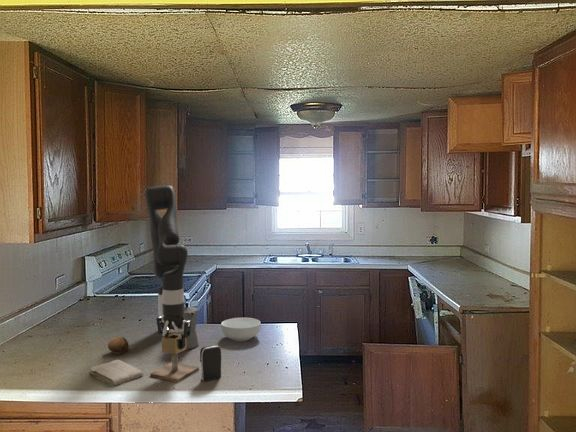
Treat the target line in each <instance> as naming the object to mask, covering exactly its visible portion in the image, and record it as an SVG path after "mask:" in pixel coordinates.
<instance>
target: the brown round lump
mask: <svg viewBox="0 0 576 432" xmlns="http://www.w3.org/2000/svg"><path fill="white" fill-rule="evenodd" d="M107 347H108V350H109V351H110V352H111V353H113V354H115V355H122V354H124V353H127V351H128V349H129V341H128V339H126V338H125V337H123V336H116V337H112V339H110V340H109V341H108V344H107Z"/></svg>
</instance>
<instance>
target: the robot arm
mask: <svg viewBox="0 0 576 432" xmlns="http://www.w3.org/2000/svg"><path fill="white" fill-rule="evenodd" d="M145 201H146V207H147V212H148V217H149V227H150V228H149V229H150V239H151V244H152V251H153V252H152V254H153V272H154V276H155V277H156V278H157V279H161V280H162V285H160V286H158V289H157V299H158V300H157V301H158V302H157V305H158V307H157V308H158V317H156V319H155V320H156V325H157V332H158V334H159V335H161V336H162V338H163V337H165V336H167V335H170V334H172V333H175V334H178V337H179V349H181V350H182V349H184V347H185V338H187V337H189V336H190V331H191V320H189V321H186V320H184V317H183V315H184V306H185V292H184V273H185V272H184V271H185V266H186V262H187V259H188V249H187V247H186V246H185V245H184V244H179V243H180V235H179V230H178V223H177V222H178V221H177V202H176V201H177V199H176V193H175V189H174V187H173V186H172V185H169V184H168V185H167V184H166V185H156V186H149V187H148V188H146V191H145ZM160 210H166V212H165V213H164V215H163V216H162V215H161V214H160V212H159V211H160ZM183 324H184V325H183ZM183 326H184V327H183ZM179 329H180V330H179ZM181 334H182V335H181Z"/></svg>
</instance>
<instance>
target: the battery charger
mask: <svg viewBox="0 0 576 432" xmlns="http://www.w3.org/2000/svg"><path fill="white" fill-rule="evenodd" d="M221 349H222V348H221V347H220V346H218V345H216V344H211V345H206V346H205V345H204V346H203V347H201V349H200V351H199V362H200V363H201V380H202V381H203V382H207V381H212V380H216V379H221V378H222V350H221Z"/></svg>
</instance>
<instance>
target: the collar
mask: <svg viewBox="0 0 576 432" xmlns="http://www.w3.org/2000/svg"><path fill="white" fill-rule="evenodd" d="M185 350H187V349H186V338H185V347H184V349H182V350H181V349H179V337H178V334H176V332H174V333H169V335H167V336H165V337H163V336H162V337H161V352H162V353H167V354H171V355H172V354H177V355H178V354H180V353H181V352H184V351H185Z"/></svg>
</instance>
